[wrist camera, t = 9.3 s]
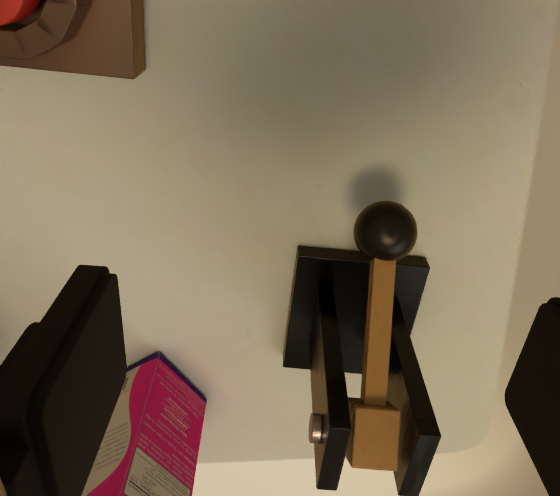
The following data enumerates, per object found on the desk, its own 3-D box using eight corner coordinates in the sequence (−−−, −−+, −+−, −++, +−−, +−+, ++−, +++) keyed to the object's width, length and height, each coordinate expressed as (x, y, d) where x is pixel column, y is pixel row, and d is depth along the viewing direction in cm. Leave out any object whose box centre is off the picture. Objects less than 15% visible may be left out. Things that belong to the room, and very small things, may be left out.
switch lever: (350, 203, 28) (362, 192, 25) (408, 209, 28) (428, 198, 25) (331, 449, 27) (341, 470, 23) (392, 454, 27) (410, 475, 24)
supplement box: (152, 428, 40) (106, 586, 30) (99, 381, 37) (31, 536, 28) (211, 400, 38) (184, 557, 28) (160, 349, 36) (111, 501, 26)
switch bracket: (297, 245, 31) (302, 386, 21) (425, 257, 32) (490, 402, 22) (283, 355, 36) (280, 515, 26) (395, 364, 36) (436, 527, 26)
